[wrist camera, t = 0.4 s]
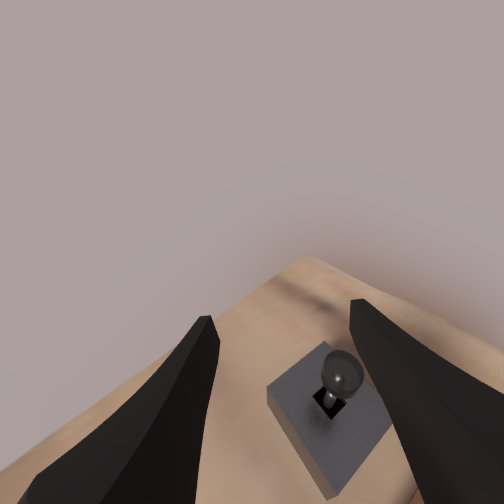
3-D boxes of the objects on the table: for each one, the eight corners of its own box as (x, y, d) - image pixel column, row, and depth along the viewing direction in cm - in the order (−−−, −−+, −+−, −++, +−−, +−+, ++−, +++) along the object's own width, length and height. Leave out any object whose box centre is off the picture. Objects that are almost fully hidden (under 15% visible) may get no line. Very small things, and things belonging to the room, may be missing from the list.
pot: (382, 429, 22) (399, 414, 19) (326, 500, 19) (337, 495, 16) (318, 360, 29) (324, 340, 26) (267, 403, 25) (266, 386, 22)
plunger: (349, 407, 21) (372, 373, 16) (330, 428, 19) (348, 398, 15) (326, 380, 23) (340, 343, 18) (306, 398, 22) (316, 363, 17)
